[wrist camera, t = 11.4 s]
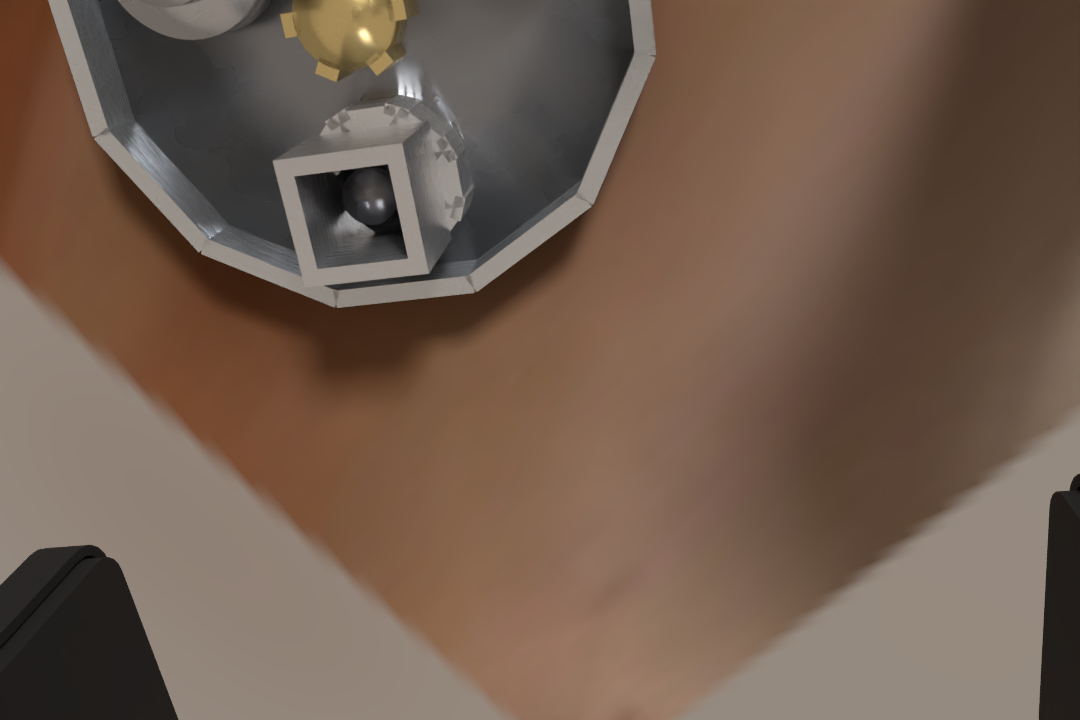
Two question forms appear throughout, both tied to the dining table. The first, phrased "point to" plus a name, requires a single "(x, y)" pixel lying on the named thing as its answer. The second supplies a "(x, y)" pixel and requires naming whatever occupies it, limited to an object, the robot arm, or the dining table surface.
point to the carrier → (343, 79)
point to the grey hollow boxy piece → (418, 182)
